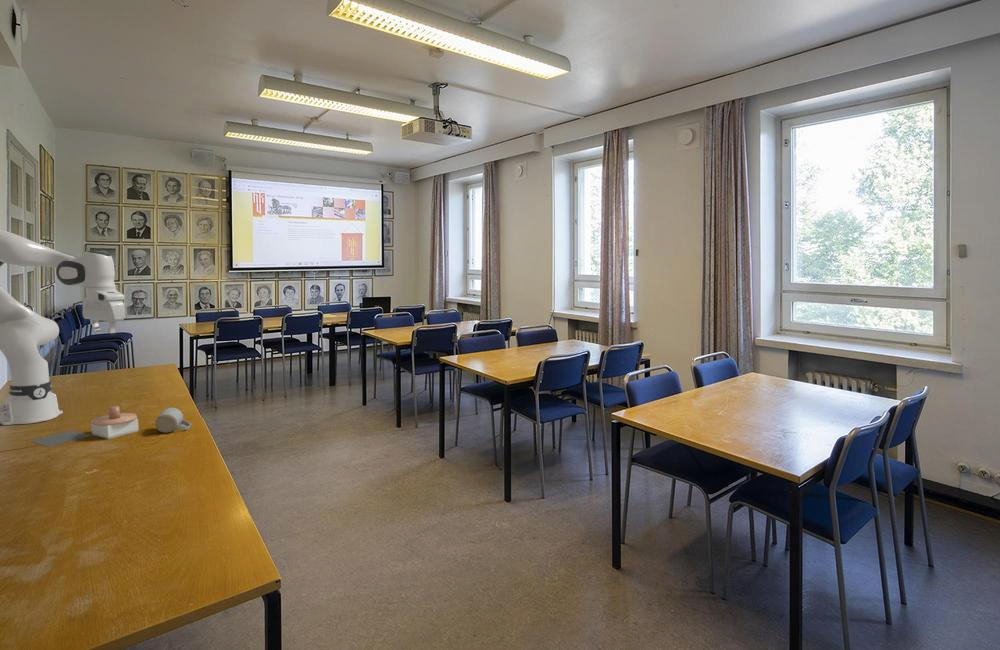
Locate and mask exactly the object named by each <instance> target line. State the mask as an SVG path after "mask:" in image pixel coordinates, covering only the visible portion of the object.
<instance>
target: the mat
mask: <svg viewBox="0 0 1000 650" xmlns="http://www.w3.org/2000/svg"><path fill="white" fill-rule="evenodd" d="M90 437H93V435H92V434H89V433H83V432H80V431H78V430H77V431H76V430H67V431H63V432H59V433H55V434H54V433H53V434H51V435H47V436H43V437H39V438H34V439H30V440H28V442H30V443H34V444H37V445H41V446H42V447H43V446H44V447H47V448H51V447H54V446H58V445H63V444H66V443H70V442H73V441H78V440H81V439H86V438H90Z"/></svg>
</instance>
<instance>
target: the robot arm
mask: <svg viewBox="0 0 1000 650" xmlns="http://www.w3.org/2000/svg"><path fill="white" fill-rule="evenodd" d="M4 264H9V265H13V266H19V267H49V268H56V269H55V274H56V278H57V280H58V281H60V283H62V284H63V285H65V286H69V287H79V286H85V292H86V293H85V294H86V295H85V298H84V300H83V302H82V316H83V318H84V319H85V320H89V322H90V324H91V326H92V331H93V332H100V331H101V326H100V325H99V321H105V322H106V321H107V322H108V326H109V327H108V328H107V334H108V333H109V334H116V328H117V326H118V322H122V321H124V319H125V317H126V315H125V303H124V300H125V295H124V294H123V293H121V292H120V291H118V290H117V286H116V283H115V276H116V271H115V269H116V268H115V263H114V259H113V257H112V254H110V253H109V252H106V251H101V250H93V249H90V250H86V251H84V253H83V254H81V255H79V256H75V255H72V254H69V253H66V252H62V251H59V250H58V249H57V250H56V249H53V248H51V247H49V246H46V245H43V244H42V243H39V242H36V241H33V240H31V239H29V238H26V237H24V236H23V235H19V234H16V233H14V232H11V231H7V230H4V229H0V267H2V266H3V265H4ZM59 334H60V327H59V325H58V323H57V322H56V321H55V320H53V319H51V318H47V317H44V316H42V315H40V314H38V313H37V312H35V311H33V310H31V309H30V308H28V307H26V305H23V304H22V303H21V302H20V301H18V300H16V298H14V297H13V295H11V294H10V293H9V292H8V291H7V290H5V289H4V287H2V286H1V285H0V351H1V353H2V354H3V356H4V357H5V360H6V362H7V364H8V368H9V376H10V384H11V385H9V389H8V391H9V392H8V394H9V395H8V397H6V398H5V400H4V401H3V402H2V403H1V405H0V413H1V414H0V424H1V425H2V426H11V425H26V424H34V423H35V424H36V423H40V422H45V421H50V420H53V419H55V418H57V417H58V416H60V415H61V414H64V413H63V410H60V409H59V403H58V399H57V395H56V393H54V392H53V391H52V386H53V385H52V381H51V380H50V372H49V370H50V369H49V363H48V360H46V359H45V358H43V357H42V356H41V355H40V352H39V351H38V346H43V345H47V344H49V343H51V342H52V341H54V340H56V339H57V338H58V337H59Z"/></svg>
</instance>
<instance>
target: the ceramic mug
mask: <svg viewBox="0 0 1000 650" xmlns="http://www.w3.org/2000/svg"><path fill="white" fill-rule="evenodd" d="M154 425H155V428H156V430H158V431H159V432H161V433H164V434H167V433H171V432H173V431H175V430H176V429H177V430H182V431H188V430H190V427H191V425H192V424H191V422H189V421H187V420H185V419H184V415H183V412H182V411H181V410H180V409H178V408H176V407H167V408H165V409H163V410H161V412H160V413H159V415H158V416H157V418H156V419H155V424H154Z"/></svg>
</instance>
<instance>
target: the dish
mask: <svg viewBox="0 0 1000 650" xmlns="http://www.w3.org/2000/svg"><path fill="white" fill-rule="evenodd" d="M90 426H91V435H92V436H94V437H99V438H103V439H107V440H111V439H114V438H118V437H122V436H126V435H130V434H132V433H133V434H134V433H136V432H139V431H140V430H139V418H138V417H137V418H136V419H135V420H133V421H130V422H127V423H122V424H117V425H107V426H98V425H93V424H92V421H91V422H90Z"/></svg>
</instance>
